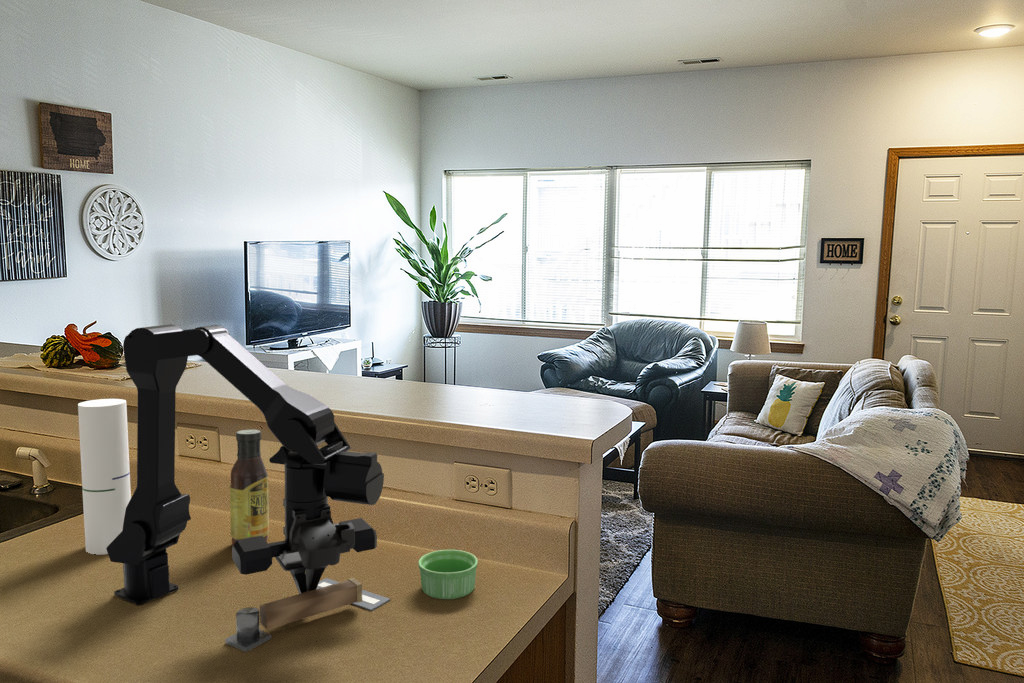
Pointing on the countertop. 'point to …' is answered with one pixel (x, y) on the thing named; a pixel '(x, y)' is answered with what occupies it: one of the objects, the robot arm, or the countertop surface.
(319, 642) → the countertop surface
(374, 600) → the label tile
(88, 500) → the cylindrical container
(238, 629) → the post on base plate
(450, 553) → the ramekin
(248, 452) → the sauce bottle
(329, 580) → the label tile
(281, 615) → the bar
